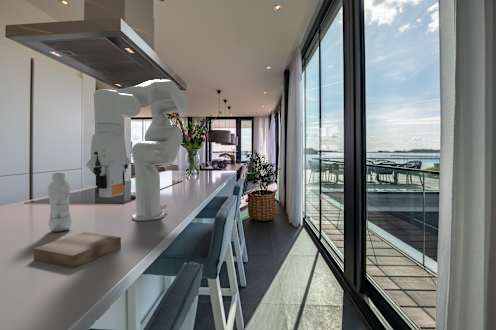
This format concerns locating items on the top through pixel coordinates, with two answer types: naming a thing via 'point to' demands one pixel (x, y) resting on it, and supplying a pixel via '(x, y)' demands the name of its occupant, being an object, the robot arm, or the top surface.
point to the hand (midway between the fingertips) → (111, 186)
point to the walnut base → (77, 249)
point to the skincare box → (112, 180)
